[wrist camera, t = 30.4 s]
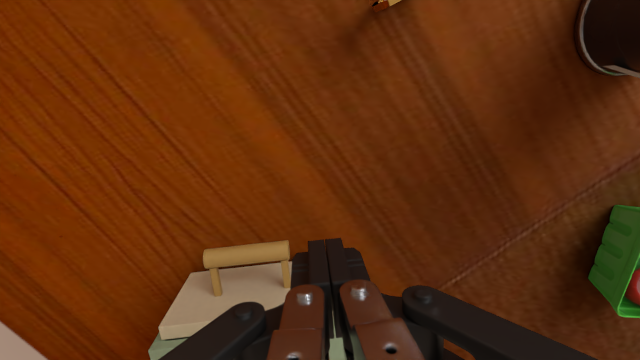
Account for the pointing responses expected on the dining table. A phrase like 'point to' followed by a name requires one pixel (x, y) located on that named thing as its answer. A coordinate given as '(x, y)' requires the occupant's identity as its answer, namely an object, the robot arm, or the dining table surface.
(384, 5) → the ring
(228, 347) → the robot arm
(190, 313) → the drawer
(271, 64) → the dining table surface
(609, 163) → the dining table surface
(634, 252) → the fruit basket
